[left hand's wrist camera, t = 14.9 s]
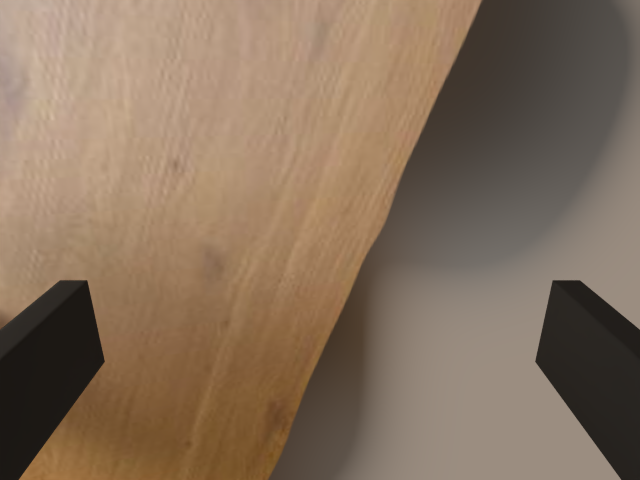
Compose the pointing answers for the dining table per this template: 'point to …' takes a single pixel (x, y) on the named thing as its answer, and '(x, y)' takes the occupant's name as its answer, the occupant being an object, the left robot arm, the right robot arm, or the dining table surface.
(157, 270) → the dining table surface
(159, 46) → the dining table surface
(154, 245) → the dining table surface
